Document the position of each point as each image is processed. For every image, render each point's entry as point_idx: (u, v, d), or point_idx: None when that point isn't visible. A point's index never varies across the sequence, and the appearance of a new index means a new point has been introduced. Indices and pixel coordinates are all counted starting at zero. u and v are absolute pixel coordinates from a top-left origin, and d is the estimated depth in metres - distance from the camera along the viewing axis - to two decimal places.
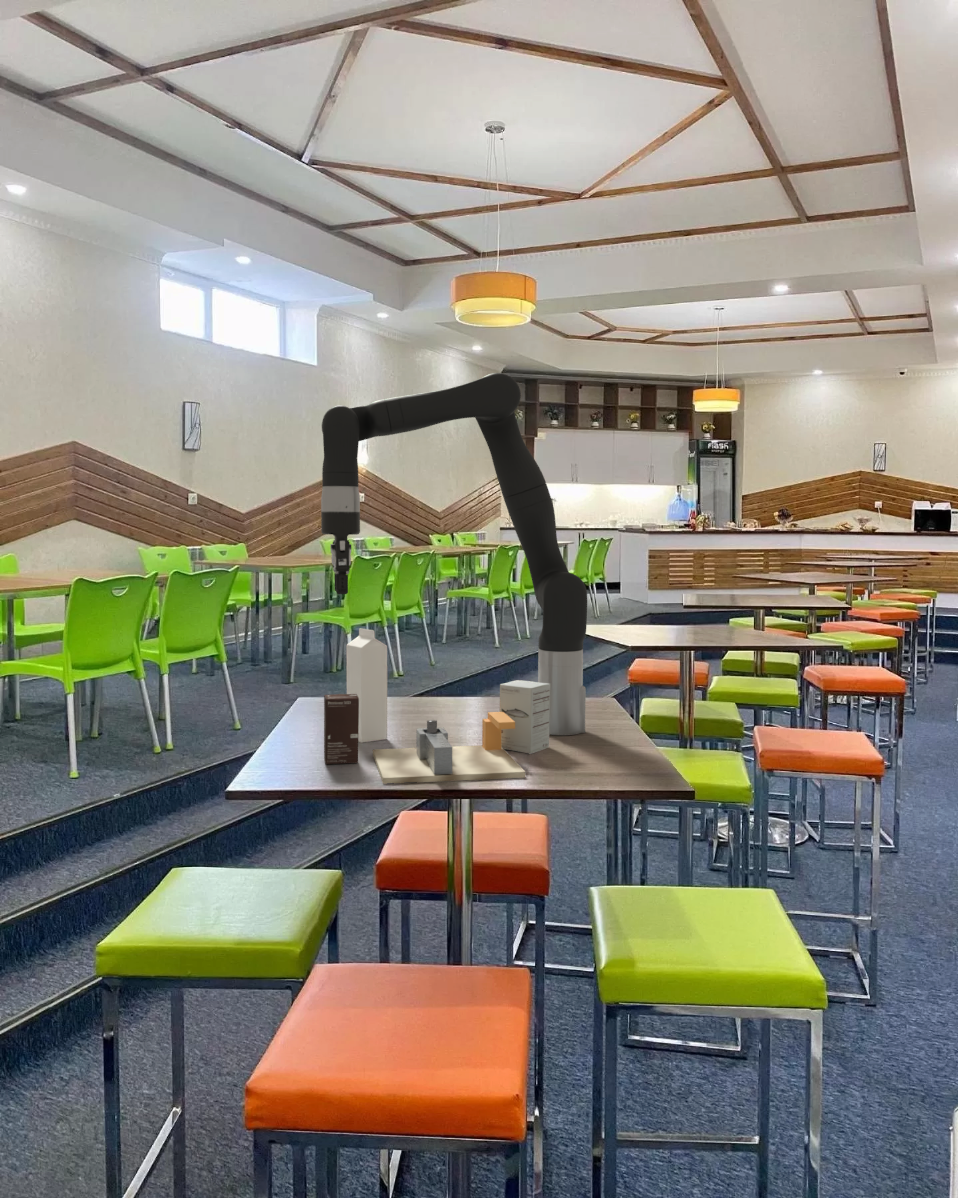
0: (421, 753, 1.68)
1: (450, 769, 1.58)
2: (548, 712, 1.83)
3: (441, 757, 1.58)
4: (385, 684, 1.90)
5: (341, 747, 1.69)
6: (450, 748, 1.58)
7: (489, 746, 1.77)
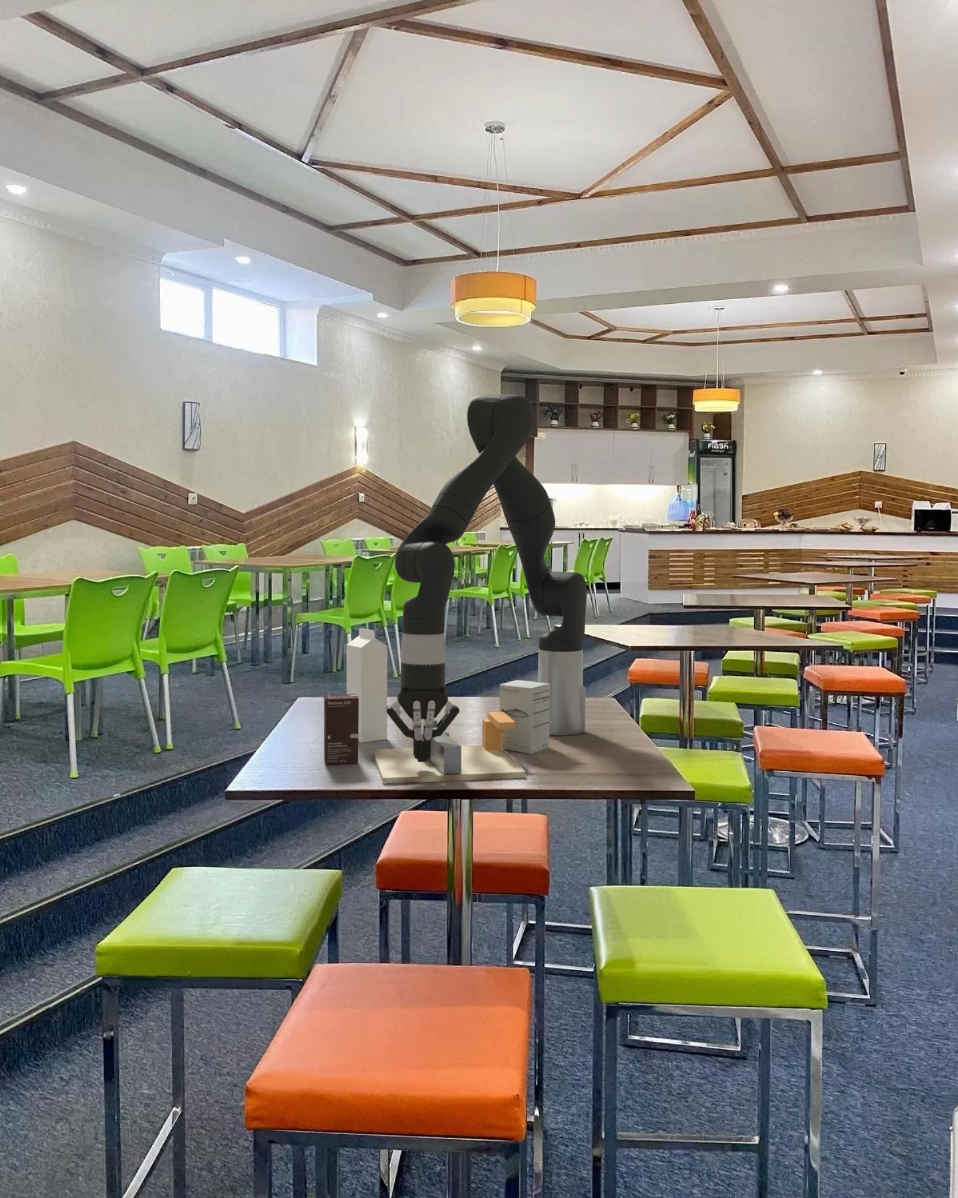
0: None
1: (459, 768, 1.59)
2: (548, 712, 1.83)
3: (450, 757, 1.58)
4: (385, 684, 1.90)
5: (341, 747, 1.69)
6: (459, 747, 1.59)
7: (489, 746, 1.77)
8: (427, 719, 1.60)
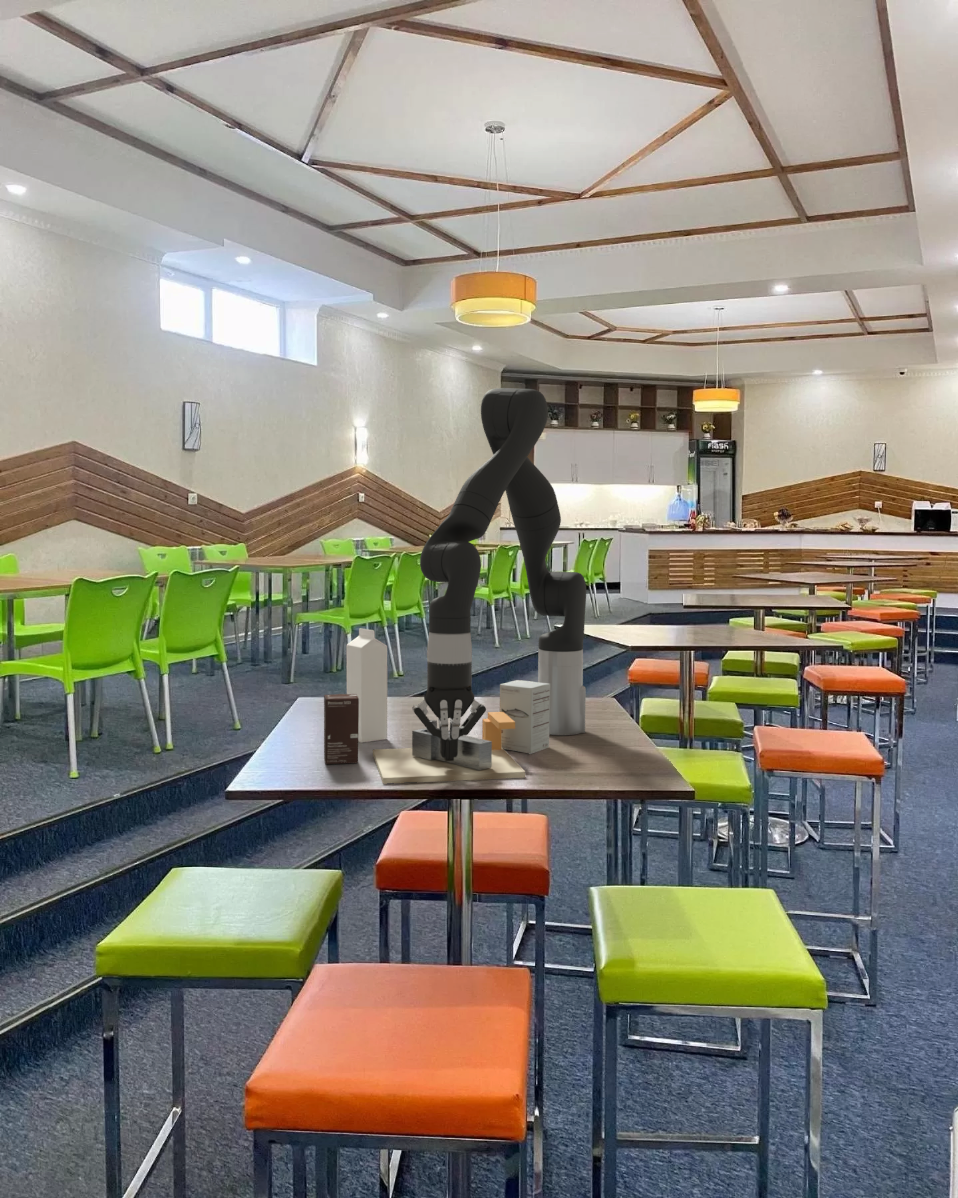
0: (432, 754, 1.68)
1: (490, 763, 1.63)
2: (548, 712, 1.83)
3: (484, 752, 1.61)
4: (385, 684, 1.90)
5: (341, 747, 1.69)
6: (490, 742, 1.62)
7: None
8: (454, 718, 1.61)
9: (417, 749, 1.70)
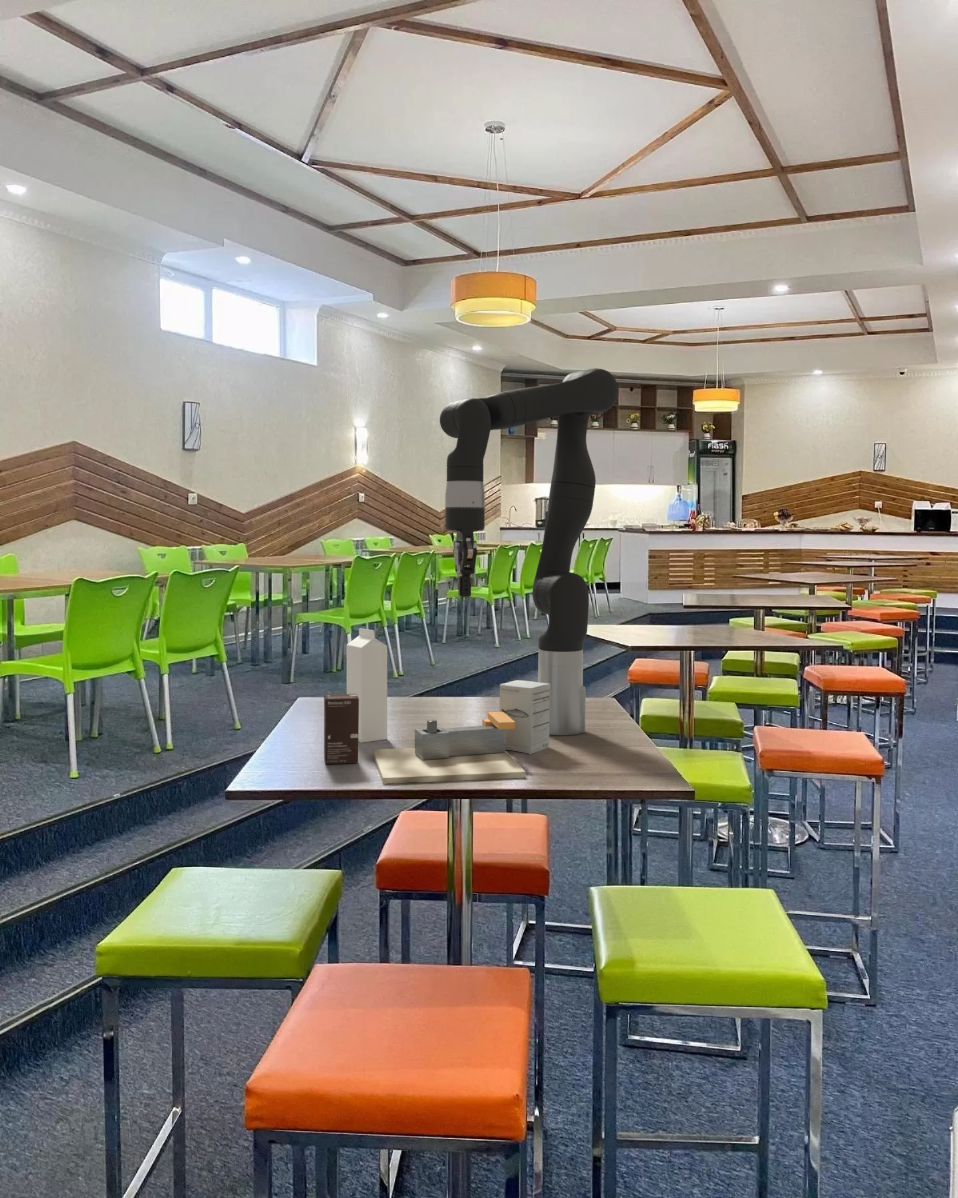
0: (448, 751, 1.70)
1: None
2: (548, 712, 1.83)
3: None
4: (385, 684, 1.90)
5: (341, 747, 1.69)
6: None
7: None
8: None
9: (430, 751, 1.69)
